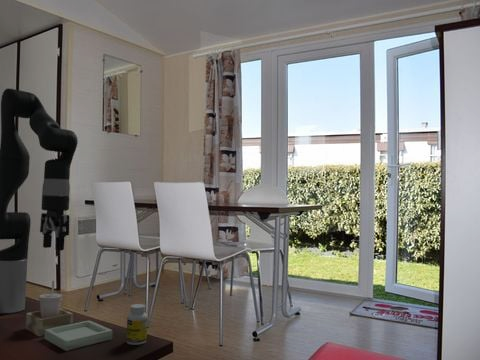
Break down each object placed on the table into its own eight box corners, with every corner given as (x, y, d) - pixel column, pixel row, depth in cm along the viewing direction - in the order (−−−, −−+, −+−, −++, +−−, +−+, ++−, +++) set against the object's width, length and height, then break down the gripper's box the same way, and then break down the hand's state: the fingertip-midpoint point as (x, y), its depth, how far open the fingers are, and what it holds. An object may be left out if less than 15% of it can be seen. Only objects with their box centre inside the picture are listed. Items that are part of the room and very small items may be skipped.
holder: (25, 328, 120) (26, 313, 120) (58, 322, 127) (58, 307, 128) (39, 336, 114) (39, 319, 114) (72, 329, 121) (73, 313, 121)
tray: (44, 338, 112) (44, 329, 112) (88, 328, 122) (89, 320, 122) (65, 350, 104) (66, 341, 104) (112, 339, 113) (112, 330, 113)
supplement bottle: (122, 343, 110) (123, 306, 110) (133, 337, 115) (135, 302, 115) (139, 346, 108) (140, 309, 108) (150, 340, 113) (151, 304, 114)
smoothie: (51, 333, 117) (54, 283, 118) (32, 331, 118) (34, 282, 119) (65, 326, 123) (67, 279, 124) (46, 324, 124) (49, 278, 125)
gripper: (33, 194, 125) (30, 247, 124) (53, 194, 115) (50, 252, 114) (57, 194, 130) (55, 246, 129) (79, 195, 121) (76, 250, 120)
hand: (53, 248), depth 122 cm, fingers open, 8 cm apart
